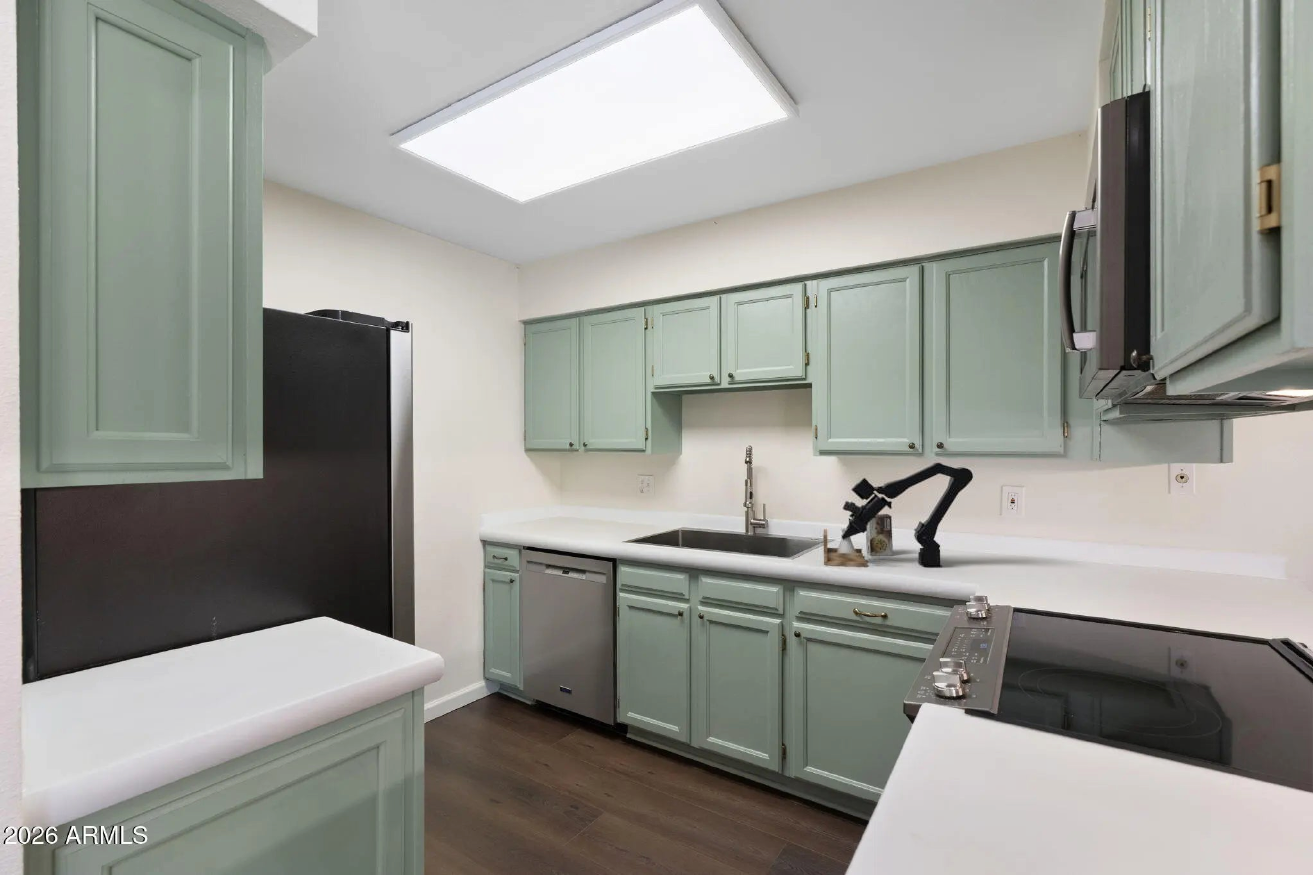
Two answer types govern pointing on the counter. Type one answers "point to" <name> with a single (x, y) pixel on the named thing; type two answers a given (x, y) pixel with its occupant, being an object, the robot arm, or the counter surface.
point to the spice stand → (842, 556)
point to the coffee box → (879, 536)
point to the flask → (846, 544)
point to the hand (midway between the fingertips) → (842, 537)
